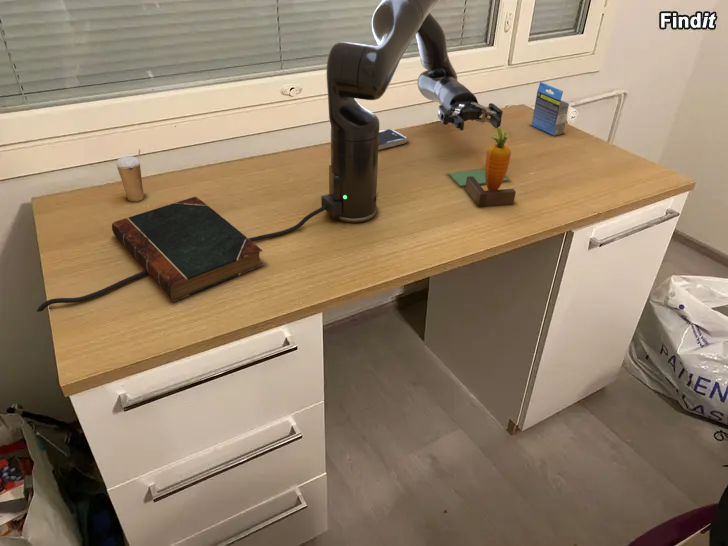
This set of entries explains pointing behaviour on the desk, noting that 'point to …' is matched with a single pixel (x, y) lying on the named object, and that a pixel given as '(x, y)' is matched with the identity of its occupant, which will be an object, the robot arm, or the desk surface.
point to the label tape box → (549, 110)
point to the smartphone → (390, 138)
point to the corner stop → (488, 194)
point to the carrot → (497, 161)
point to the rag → (462, 176)
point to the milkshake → (131, 177)
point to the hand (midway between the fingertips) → (480, 125)
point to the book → (187, 247)
